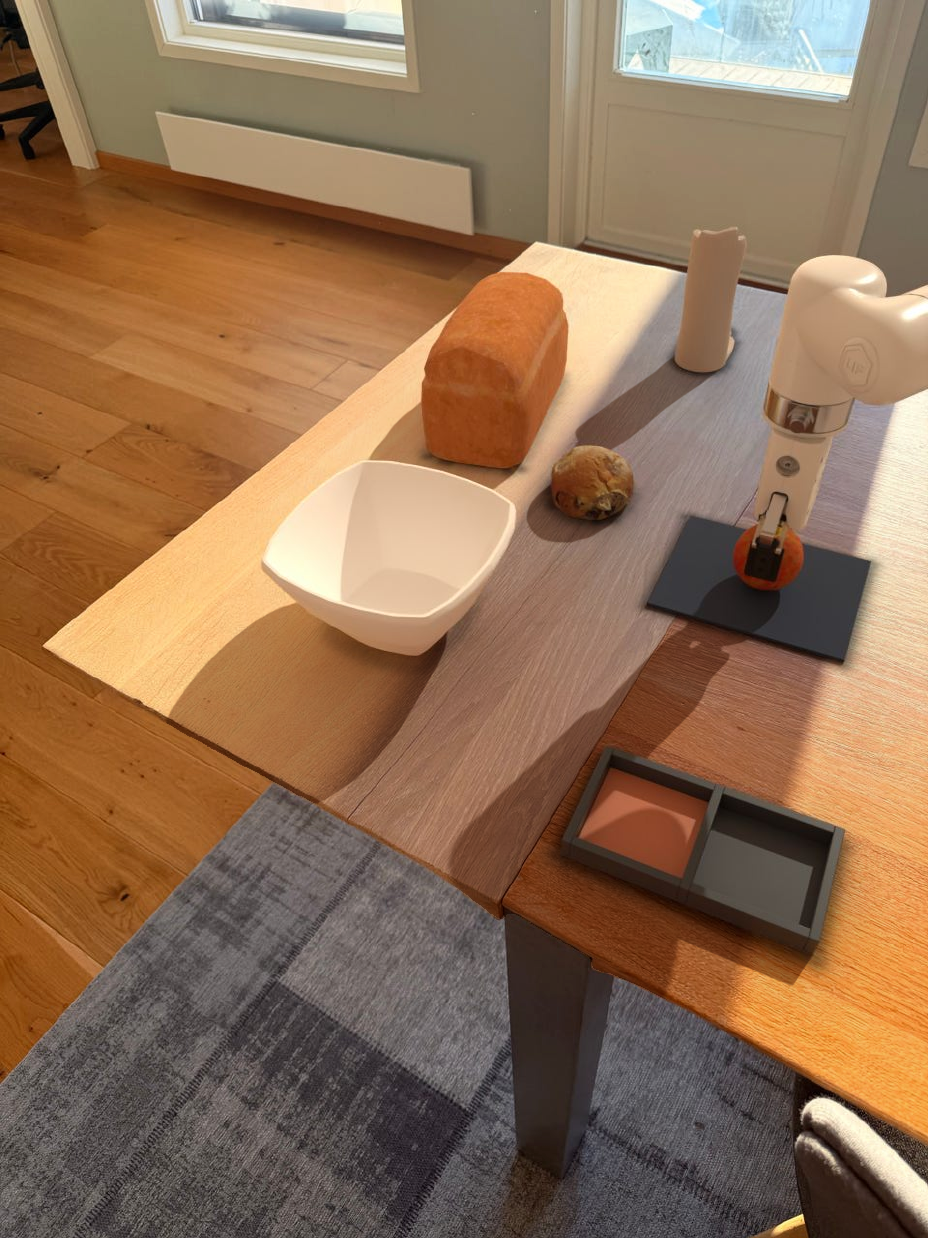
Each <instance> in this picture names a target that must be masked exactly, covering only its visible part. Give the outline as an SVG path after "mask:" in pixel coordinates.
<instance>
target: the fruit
mask: <svg viewBox="0 0 928 1238" xmlns="http://www.w3.org/2000/svg"><path fill="white" fill-rule="evenodd" d="M757 526H758V523H757V524H755V525H752V526H750V527H749V528H747V529H746V531H745V532H744V533H743V534H742V535H741V537H740V538H739V540H738V541H737V543H736V546H735V549H734V553H733V563H734V568H735V570H736V573H737V574H738V576H739V577H740V578H741V579H742V580H743V581H744V582H745V583H746V584H748V585H749V586H751V587H753V588H756V589H759V590H778V589H780V588H782V587H785V586H787V585H788V584H790V583H791V582H792V581H793V580H794V579H795V578H796V577H797V575H798V574H799V572H800V570H801V568H802V564H803V559H804V552H803V546H802V544H803V543H802V541H801V539H800V537H799V535H797V533H796V531H795V530H791V529H790V528H788V531H787V534H786V538H785V541H784V544H783V547H782V549H785V551H784V555H783V559H782V562H781V566H780V570H779V574H778V577H777V580H776V581H775V582H770V581H766V580H762V579H758V578H755V577H751V576H747V575H745V574H744V569H745V565H746V561H747V556H748V552H749V548H750V544H751V541H753V539H754V536H755V532H756V529H757ZM781 530H782V528H781V527H778V528H777V531H776V535H775V538H776V539H777V541H778V540H779V536H780V533H781Z"/></svg>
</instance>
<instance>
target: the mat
mask: <svg viewBox="0 0 928 1238" xmlns="http://www.w3.org/2000/svg"><path fill="white" fill-rule="evenodd" d="M746 530H747V528H743V527H738V526H734V525H731V524H726V523H723V522H718V521H715V520H711V519H707V518H702V517H698V516H695V515H690V517H689V518H688V520H687V521H686V524H685V526H684V528H683V530H682V532H681V534H680V536H679V539H678V540H677V542H676V544H675V546H674V548H673V550H672V552H671V554H670V557H669V559H668V560H667V563H666V565H665V566H664V568H663V570H662V573H661V575H660V576H659V579H658V580H657V583H656V585H655V586H654V589H653V590H652V592H651V595H650V596H649V598H648V600H647V603H646V605H647V606H648V607H652V608H656V609H659V610H663V611H666V612H669V613H673V614H676V615H679V616H683V617H686V618H690V619H693V620H697V621H700V622H703V623H706V624H710V625H714V626H717V627H720V628H724V629H728V630H731V631H735V632H738V633H741V634H745V635H748V636H750V637H751V636H752V637H754V638H758V639H762V640H765V641H769V642H772V643H775V644H779V645H782V646H786V647H788V648H792V649H795V650H799V651H803V652H805V653H809V654H813V655H816V656H820V657H823V658H826V659H830V660H833V661H837V662H840V663H845V660H846V656H847V653H848V649H849V645H850V641H851V637H852V634H853V630H854V626H855V624H856V618H857V615H858V612H859V608H860V605H861V600H862V598H863V597H862V596H863V594H864V590H865V585H866V582H867V578H868V575H869V570H870V566H871V563H872V561H871V560H869V559H865V558H861V557H857V556H853V555H849V554H845V553H841V552H837V551H833V550H829V549H825V548H821V547H818V546H813V545H809V544H805V543H802V546H803V552H804V559H803V564H802V568H801V570H800V572H799V574H798V575H797V577H796V578H795V579H794V580H793V581H792V582H791V583H790V584H788V585H787V586H785V587H782V588H780V589H778V590H759V589H756V588H753V587H751V586H749V585H748V584H746V583H745V582H744V581H743V580H742V579H741V578H740V577H739V576H738V574H737V573H736V570H735V568H734V563H733V553H734V549H735V546H736V543H737V541H738V540H739V538H740V537H741V535H742V534H743V533H744V532H745V531H746Z"/></svg>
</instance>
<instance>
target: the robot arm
mask: <svg viewBox="0 0 928 1238" xmlns="http://www.w3.org/2000/svg"><path fill="white" fill-rule="evenodd" d="M887 290H888V284H887V278H886V276H885V273H884V272H883V271H882V270H881V269H880V268H879V267H878V266H877V265H875V264H874V263H872V262H870V261H868V260H865V259H862V258H859V257H855V256H851V255H850V256H849V255H839V254H833V255H832V254H831V255H829V254H828V255H820V256H817V257H814V258H811V259H808V260H807V261H805V262H803V263H802V264H801V265H800V266H798V268H796V270H795V271H794V273H793V275H792V276H791V279H790V282H789V286H788V290H787V294H786V298H785V299H786V300H785V304H784V308H783V313H782V317H781V322H780V327H779V331H778V335H777V340H776V341H777V342H776V346H775V350H774V354H773V360H772V363H771V369H770V373H769V378H768V382H767V387H766V393H765V397H764V401H763V404H762V405H763V406H762V411H761V414H762V417H763V420H764V421H765V422H766V424H767V425H769V426H770V427H771V429H770V432H769V437H768V441H767V444H766V450H765V453H764V458H763V462H762V468H761V473H760V478H759V482H758V487H757V492H756V498H755V503H754V509H753V515H752V517H753V518H754V521H756V522H757V524H758V526H757V529H756V532H755V536H754V539H753V541H751V544H750V548H749V552H748V556H747V561H746V565H745V569H744V574H745V575H747V576H751V577H755V578H758V579H762V580H766V581H770V582H775V581H776V580H777V577H778V574H779V570H780V566H781V562H782V559H783V555H784V551H785V549H782V547H783V544H784V541H785V538H786V534H787V531H788V528H790V529H791V530H793V531H795V532H797V533H798V532H801V531H803V530H804V529H805V528H806V527H807V523H808V522H809V521H808V520H809V518H810V516H811V513H812V510H813V507H814V505H815V502H816V499H817V496H818V493H819V490H820V486H821V483H822V479H823V475H824V472H825V468H826V465H827V461H828V456H829V455H830V450H831V447H832V442H833V438H834V436H837V435H840V434H841V433H842V432H844V431H845V429H846V428H848V425H849V422H850V418H851V415H852V411H853V408H854V404H855V401H856V400H857V401H859V402H861V403H863V404H866V405H869V406H875V407H877V406H878V407H881V406H883V407H884V406H888V405H892V404H895V403H899V402H901V401H903V400H906V399H908V398H910V397H913V396H915V395H917V394H919V393H922V392H924V391H926V390H928V284H926V285H924V286H920V287H918V288H915V289H912V290H911V291H907V292H905V293H903V294H900V295H894V296H888V297H887V296H886V295H887ZM778 527H781V528H782V530H781V533H780V536H779V540H778V541H777V539H776V538H775V535H776V531H777V528H778Z"/></svg>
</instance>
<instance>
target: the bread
mask: <svg viewBox="0 0 928 1238" xmlns="http://www.w3.org/2000/svg"><path fill="white" fill-rule="evenodd" d="M568 343H569V322H568V318H567V314H566V312H565V310H564V296H563V293H562V292H561V290H560V289H559V288H557V286H556V285H554V284H553V283H552V282H550V281H549V280H547V278H544V277H542V276H537V275H534V274H532V273H528V272H517V271H515V272H514V271H499V272H496V273H492V274H489V275H487V276H486V277H484V278H483V279H481V280H479V281H478V282H477V283H476V284H475V285H474V286H473V288H472V289H471V290H470V291H469V293H468V294H467V295H466V296H465V298H464V299H463V300H462V301H461V302H460V303H459V305H458V306H457V307H456V309H455V310H454V311H453V313H452V314H451V315H450V317H449V318H448V320H447V321H446V322H445V323H444V326H443V328H442V329H441V332H440V333H439V335H438V337H437V339H436V340H435V342H434V343H433V344H432V346H431V347H430V350H429V352H428V355H427V358H426V361H425V364H424V367H423V370H424V377H423V379H422V382H421V391H420V392H421V396H420V404H421V415H422V427H423V432H424V437H425V439H424V440H425V444H426V445H425V446H426V448H427V450H428V451H429V452H430V453H431V455H432V456H433V457H435V458H439V459H441V460H444V461H450V462H455V463H461V464H467V465H474V466H475V465H476V466H482V467H489V468H497V469H509V468H512V467H514V466H516V465H519V464H521V463H522V462H523V461H524V459H525V458H526V457H527V455H528V454H529V452H530V450H531V448H532V445H533V443H534V442H535V439H536V437H537V435H538V433H539V431H540V429H541V426H542V424H543V422H544V420H545V418H546V416H547V414H548V411H549V409H550V406H551V404H552V402H553V401H554V398H555V396H556V395H557V392H558V391H559V389H560V387H561V384H562V382H563V379H564V376H565V372H566V366H567V361H568V346H569V345H568Z"/></svg>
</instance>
